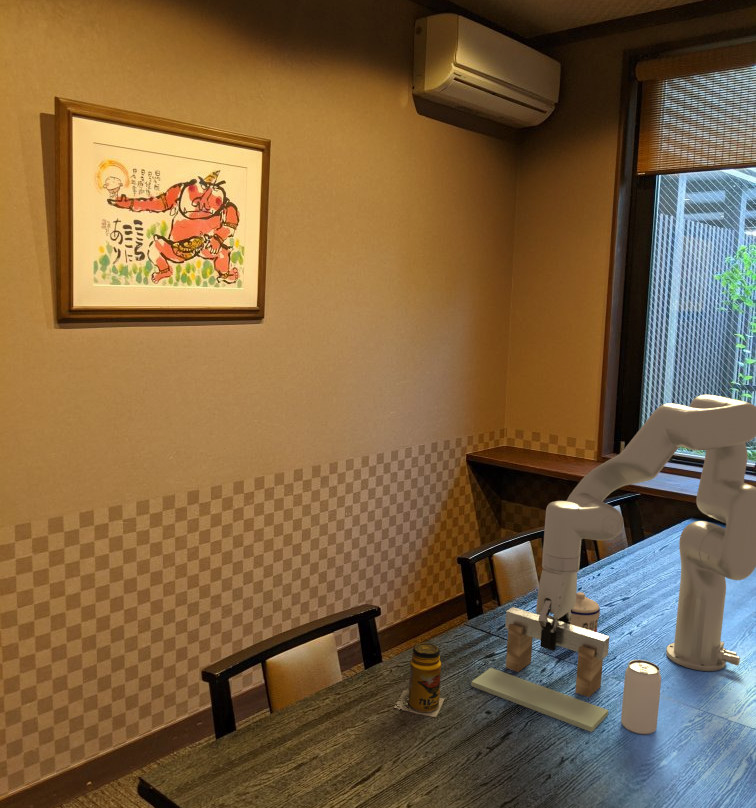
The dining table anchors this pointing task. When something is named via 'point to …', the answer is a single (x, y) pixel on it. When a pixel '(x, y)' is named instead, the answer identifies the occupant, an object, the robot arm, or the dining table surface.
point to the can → (641, 697)
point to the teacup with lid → (585, 613)
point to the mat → (541, 699)
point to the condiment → (424, 681)
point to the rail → (560, 632)
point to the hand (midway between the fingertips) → (554, 642)
